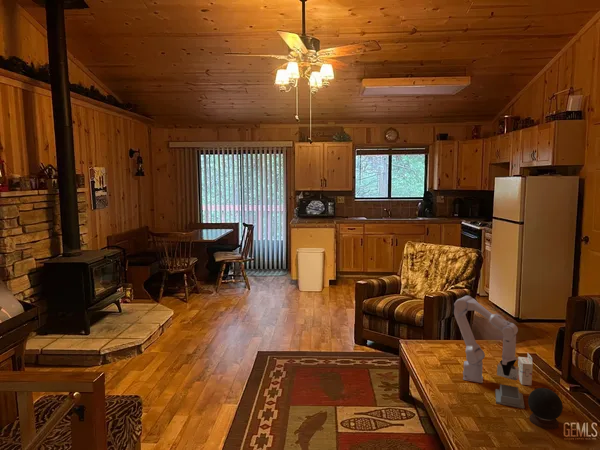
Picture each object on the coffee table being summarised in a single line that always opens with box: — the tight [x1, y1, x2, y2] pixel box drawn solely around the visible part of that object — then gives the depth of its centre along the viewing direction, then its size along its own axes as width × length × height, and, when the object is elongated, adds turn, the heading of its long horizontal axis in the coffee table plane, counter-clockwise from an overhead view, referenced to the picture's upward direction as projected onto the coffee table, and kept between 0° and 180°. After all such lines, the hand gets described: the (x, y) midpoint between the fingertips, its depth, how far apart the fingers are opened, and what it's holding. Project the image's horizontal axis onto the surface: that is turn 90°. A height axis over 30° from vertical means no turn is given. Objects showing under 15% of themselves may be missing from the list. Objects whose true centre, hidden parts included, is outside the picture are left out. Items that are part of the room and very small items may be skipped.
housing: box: [496, 362, 519, 381], centre depth 214 cm, size 9×4×6 cm, turn 49°
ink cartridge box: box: [517, 352, 534, 386], centre depth 222 cm, size 9×5×15 cm, turn 168°
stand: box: [494, 384, 525, 409], centre depth 205 cm, size 12×13×4 cm
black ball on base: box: [527, 387, 564, 431], centre depth 186 cm, size 13×13×15 cm
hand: (507, 373), depth 214 cm, fingers closed on housing, 4 cm apart
